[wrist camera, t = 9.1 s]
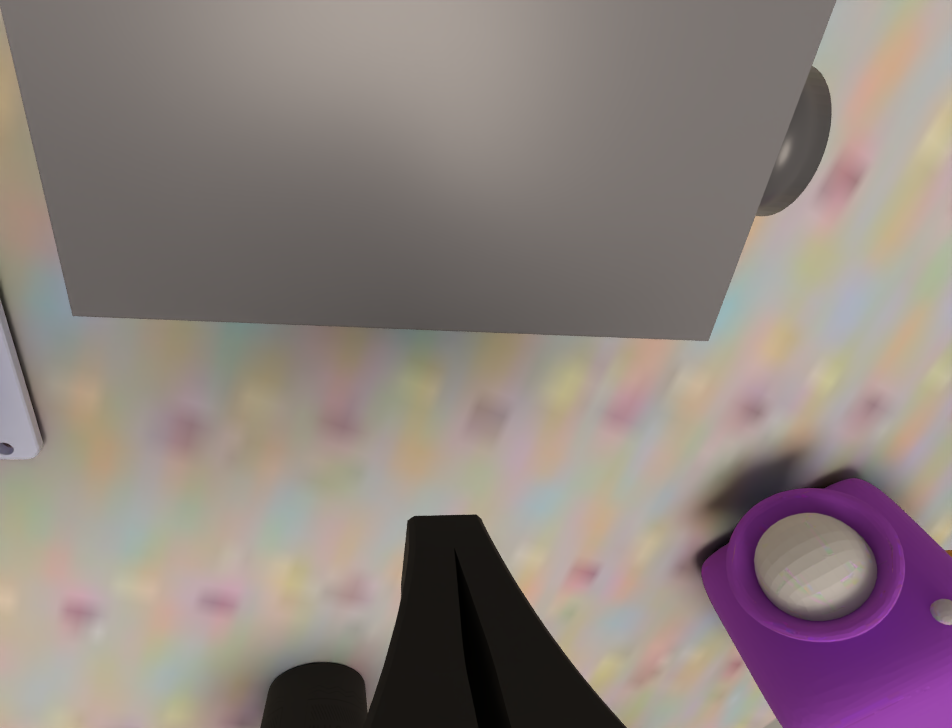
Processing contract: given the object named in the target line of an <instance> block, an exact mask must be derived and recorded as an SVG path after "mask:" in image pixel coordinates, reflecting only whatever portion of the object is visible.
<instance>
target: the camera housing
mask: <svg viewBox="0 0 952 728" xmlns="http://www.w3.org/2000/svg"><path fill="white" fill-rule="evenodd" d="M835 2H836V0H0V7H1V11H2V16H3V20H4V24H5V28H6V33H7V37H8V41H9V45H10V50H11V54H12V58H13V63H14V67H15V71H16V75H17V80H18V84H19V88H20V92H21V97H22V101H23V105H24V110H25V114H26V118H27V122H28V127H29V131H30V135H31V139H32V144H33V148H34V152H35V157H36V161H37V165H38V169H39V174H40V178H41V182H42V186H43V191H44V195H45V199H46V204H47V208H48V212H49V216H50V221H51V225H52V229H53V233H54V238H55V242H56V246H57V251H58V255H59V259H60V263H61V268H62V272H63V276H64V280H65V285H66V289H67V293H68V297H69V302H70V306H71V310H72V315H73V316H87V317H112V318H138V319H163V320H188V321H214V322H239V323H264V324H290V325H315V326H340V327H366V328H391V329H416V330H442V331H467V332H493V333H518V334H543V335H569V336H594V337H619V338H645V339H670V340H695V341H708V340H709V338H710V335H711V332H712V330H713V327H714V324H715V322H716V319H717V316H718V314H719V311H720V308H721V306H722V303H723V300H724V298H725V295H726V292H727V290H728V287H729V284H730V282H731V279H732V277H733V274H734V271H735V269H736V266H737V263H738V261H739V258H740V255H741V253H742V250H743V247H744V245H745V242H746V239H747V237H748V234H749V231H750V229H751V226H752V223H753V221H754V218H755V216H769V215H773V214H775V213H778V212H780V211H782V210H783V209H785V208H786V207H788V206H789V205H790V204H791V203H793V202H794V201H795V200H796V199H797V198H798V197H799V196H800V194H801V193H802V192H803V191H804V190H805V188H806V187H807V185H808V184H809V182H810V181H811V179H812V177H813V176H814V174H815V172H816V170H817V168H818V166H819V164H820V162H821V159H822V157H823V154H824V151H825V148H826V145H827V141H828V137H829V132H830V126H831V98H830V93H829V89H828V86H827V83H826V81H825V79H824V77H823V76H822V74H821V73H820V72H819V71H818V70H817V69H816V68H815V67H813V66H812V64H813V61H814V58H815V56H816V53H817V50H818V48H819V45H820V42H821V40H822V37H823V34H824V32H825V29H826V26H827V24H828V21H829V18H830V16H831V13H832V10H833V8H834V5H835Z"/></svg>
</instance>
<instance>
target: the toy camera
mask: <svg viewBox="0 0 952 728" xmlns="http://www.w3.org/2000/svg"><path fill="white" fill-rule="evenodd" d="M701 574H702V580H703V584H704V587H705V590H706V592H707V594H708V597H709V599H710V601H711V603H712V605H713V607H714V609H715V610H716V612H717V614H718V616H719V618H720V620H721V621H722V623H723V625H724V627H725V629H726V630H727V632H728V634H729V636H730V637H731V639H732V641H733V643H734V645H735V646H736V648H737V650H738V652H739V653H740V655H741V657H742V659H743V660H744V662H745V664H746V666H747V668H748V669H749V671H750V673H751V675H752V676H753V678H754V680H755V682H756V684H757V685H758V687H759V689H760V691H761V692H762V694H763V696H764V697H765V699H766V701H767V703H768V704H769V706H770V708H771V709H772V711H773V713H774V714H775V716H776V718H777V719H778V721H779V723H780V724H781V725H782V727H783V728H952V550H944V549H942V548H941V547H940V546H939V545H938V544H937V543H936V542H935V541H934V540H933V539H932V538H931V537H930V536H929V535H928V534H927V533H926V532H925V531H924V530H923V529H922V528H921V527H920V526H919V525H918V524H917V523H916V522H915V521H914V520H913V519H912V518H911V517H910V516H908V515H907V514H906V513H905V512H904V511H903V510H902V509H901V508H900V507H899V506H898V505H897V504H896V503H895V502H894V501H893V500H891V499H890V498H889V497H888V496H887V495H886V494H884V493H883V492H882V491H881V490H879V489H878V488H876V487H875V486H873V485H872V484H870V483H868V482H866V481H864V480H861V479H857V478H850V479H845V480H842V481H839V482H837V483H834V484H832V485H830V486H828V487H826V488H824V489H820V488H801V489H793V490H788V491H784V492H780V493H777V494H774V495H772V496H770V497H768V498H766V499H764V500H762V501H760V502H759V503H757V504H756V505H755V506H753V507H752V508H751V509H750V510H749V511H748V512H747V513H746V514H745V515H744V516H743V517H742V519H741V520H740V521H739V523H738V524H737V526H736V528H735V529H734V531H733V533H732V536H731V538H730V541H729V543H728V544H726V545H725V546H723V547H722V548H720V549H718V550H717V551H716V552H714V553H713V554H712V555H711V556H710V557H708V558H707V559H706V560H705V562H704V563H703V566H702V570H701Z"/></svg>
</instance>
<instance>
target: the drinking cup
mask: <svg viewBox="0 0 952 728" xmlns="http://www.w3.org/2000/svg"><path fill="white" fill-rule="evenodd" d="M367 714H368V712H367V702H366V691H365V683H364V681H363V679H362V677H361V676H360V675H359V674H358V673H357V672H356V671H354V670H353V669H351V668H349V667H346V666H343V665H339V664H333V663H314V664H307V665H303V666H299V667H296V668H293V669H291V670H289V671H287V672H285V673H283V674H282V675H280V676H279V677H278V678H277V679H276V680H275V681H274V682H273V683H272V685H271V686H270V688H269V692H268V696H267V701H266V705H265V709H264V714H263V718H262V723H261V727H260V728H363V725H364V723H365V720H366V717H367Z"/></svg>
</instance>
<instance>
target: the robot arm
mask: <svg viewBox="0 0 952 728" xmlns="http://www.w3.org/2000/svg"><path fill="white" fill-rule="evenodd" d="M3 443H8V444H9V445H11V446H12V447H7V446H6V445H4V444H3ZM42 447H43V441H42V437H41V434H40V431H39V427H38V424H37V421H36V417H35V414H34V410H33V407H32V404H31V400H30V397H29V394H28V390H27V387H26V384H25V380H24V377H23V374H22V370H21V367H20V363H19V360H18V357H17V353H16V350H15V347H14V343H13V340H12V337H11V333H10V330H9V327H8V323H7V320H6V316H5V313H4V310H3V306H2V303H1V300H0V459H32V458H34V457H36V456H37V455H38V453H39V452H40V450H41V449H42ZM363 728H627V727H626V726H625V725H624V724H623V723H622V722H621V721H620V720H619V719H618V717H617V716H616V715H615V714H614V713H613V712H612V711H611V710H610V708H609V707H608V706H607V705H606V704H605V703H604V702H603V701H602V699H601V698H600V697H599V696H598V695H597V693H596V692H595V691H594V690H593V689H592V687H591V686H590V685H589V684H588V683H587V681H586V680H585V679H584V678H583V677H582V675H581V674H580V673H579V671H578V670H577V669H576V668H575V666H574V665H573V664H572V663H571V661H570V660H569V659H568V657H567V656H566V655H565V653H564V652H563V651H562V649H561V648H560V647H559V645H558V644H557V642H556V641H555V640H554V638H553V637H552V636H551V634H550V633H549V631H548V630H547V629H546V627H545V626H544V624H543V623H542V621H541V620H540V618H539V617H538V616H537V614H536V613H535V611H534V609H533V608H532V606H531V605H530V603H529V602H528V600H527V599H526V597H525V596H524V594H523V593H522V591H521V589H520V588H519V586H518V585H517V583H516V581H515V580H514V578H513V577H512V575H511V573H510V572H509V570H508V568H507V566H506V565H505V563H504V561H503V560H502V558H501V556H500V554H499V552H498V551H497V549H496V547H495V545H494V543H493V542H492V540H491V538H490V536H489V534H488V532H487V530H486V528H485V526H484V524H483V522H482V520H481V518H480V517H479V516H477V515H438V516H414V517H412V518H411V519H409V520H408V522H407V532H406V542H405V551H404V561H403V571H402V581H401V601H400V606H399V611H398V615H397V619H396V623H395V627H394V631H393V634H392V638H391V642H390V645H389V649H388V652H387V656H386V660H385V663H384V666H383V670H382V673H381V676H380V679H379V682H378V685H377V688H376V691H375V694H374V697H373V700H372V703H371V706H370V709H369V712H368V714H367V717H366V720H365V723H364V725H363Z"/></svg>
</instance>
